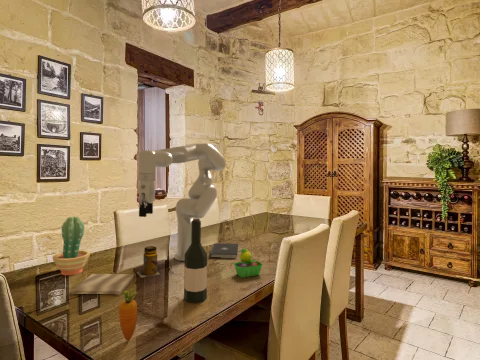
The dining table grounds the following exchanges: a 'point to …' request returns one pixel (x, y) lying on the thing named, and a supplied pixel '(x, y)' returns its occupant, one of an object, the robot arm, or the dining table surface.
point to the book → (224, 250)
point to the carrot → (128, 315)
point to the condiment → (149, 262)
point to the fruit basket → (247, 265)
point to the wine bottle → (195, 267)
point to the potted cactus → (71, 248)
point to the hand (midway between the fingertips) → (146, 215)
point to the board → (103, 284)
